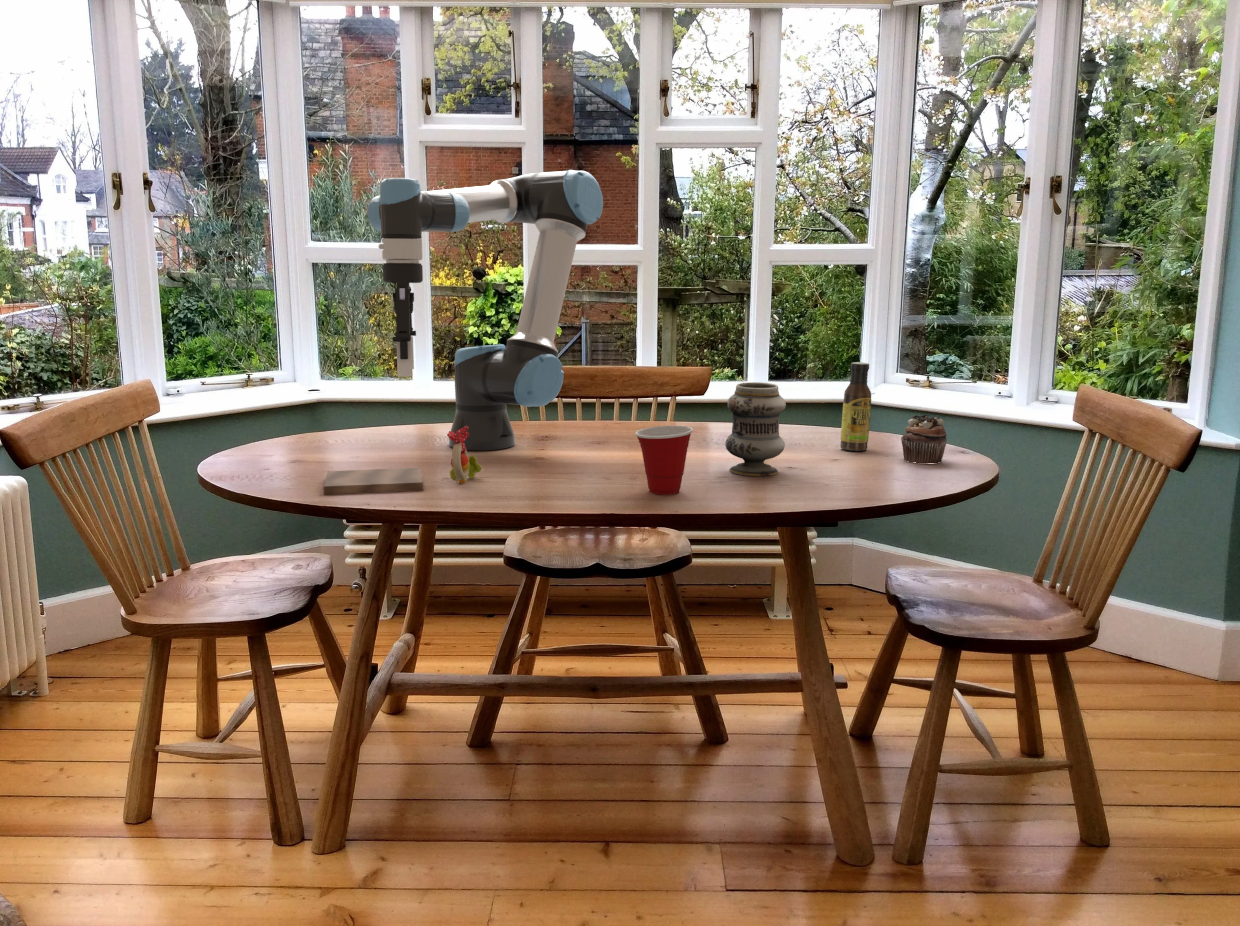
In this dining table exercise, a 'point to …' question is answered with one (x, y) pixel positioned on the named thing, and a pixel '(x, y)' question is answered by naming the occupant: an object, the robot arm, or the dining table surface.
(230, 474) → the dining table surface
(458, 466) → the bird rattle
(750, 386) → the apothecary jar
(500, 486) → the dining table surface
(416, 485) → the walnut board
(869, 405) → the sauce bottle
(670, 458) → the plastic cup
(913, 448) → the cupcake
